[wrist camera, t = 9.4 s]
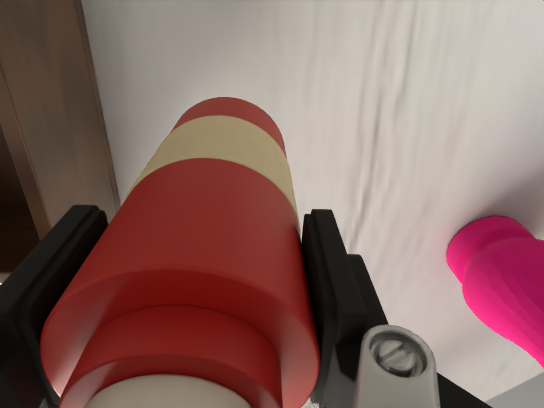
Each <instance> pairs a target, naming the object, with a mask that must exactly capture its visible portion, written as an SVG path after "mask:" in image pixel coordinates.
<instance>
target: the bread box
mask: <svg viewBox="0 0 544 408" xmlns="http://www.w3.org/2000/svg"><path fill="white" fill-rule="evenodd" d="M73 205H97V206H98V207H99V209H100V210H104V211H105V213H106V215H107V220H108V225H109V224H110V222H111V221H112V219H113V218H114V216H115V215H116V213H117V212H118V210H119V209H120V207H121V206H120V201H119V196H118V191H117V185H116V180H115V175H114V170H113V165H112V160H111V154H110V149H109V144H108V139H107V134H106V129H105V123H104V118H103V113H102V108H101V103H100V97H99V92H98V87H97V82H96V77H95V72H94V66H93V61H92V56H91V51H90V46H89V41H88V35H87V30H86V25H85V20H84V15H83V10H82V4H81V0H0V284H2V283H3V282H4V281H5V280H6V279H7V278H8V277H9V275H10V274H11V273H12V272H13V271H14V270H15V269H16V268H17V267H18V265H19V264H20V263H21V262H22V261H23V260H24V259H25V258H26V257H27V255H28V254H29V253H30V252H31V251H32V250H33V249H34V248H35V247H36V246H37V244H38V243H39V242H40V241H41V240H42V239H43V238H44V237H45V236H46V234H47V233H48V232H49V231H50V230H51V229H52V228H53V227H54V226H55V224H56V223H57V222H58V221H59V220H60V219H61V218H62V217H63V216H64V214H65V213H66V212H67V211H68V210H69V209H70V208H71V207H72V206H73Z"/></svg>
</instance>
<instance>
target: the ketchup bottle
mask: <svg viewBox="0 0 544 408" xmlns="http://www.w3.org/2000/svg"><path fill="white" fill-rule="evenodd" d="M39 350H40V359H41V364H42V367H43V370H44V373H45V375H46V377H47V379H48V381H49V383H50V385H51V386H52V387H53V389H54V390H55V391H56V393H57V394H58V395H59V396H60V397H61V398H60V402H59V408H301V407H302V406H303V405H304V404H305V402H306V401H307V400H308V398H309V397H310V395H311V394H312V392H313V390H314V388H315V386H316V383H317V380H318V376H319V372H320V363H321V357H320V349H319V343H318V337H317V331H316V326H315V320H314V314H313V308H312V302H311V297H310V291H309V285H308V279H307V274H306V268H305V262H304V256H303V250H302V245H301V239H300V224H299V218H298V212H297V207H296V201H295V196H294V190H293V184H292V179H291V173H290V168H289V165H288V161H287V158H286V152H285V146H284V141H283V138H282V135H281V133H280V130H279V128H278V127H277V125H276V124H275V122H274V121H273V120H272V118H271V117H270V116H269V115H268V114H267V113H266V112H265V111H263V110H262V109H260V108H259V107H258V106H256V105H254V104H252V103H250V102H247V101H245V100H242V99H237V98H231V97H218V98H212V99H208V100H205V101H202V102H200V103H198V104H196V105H194V106H193V107H191V108H190V109H188V110H187V111H186V112H185V113H184V114H183V115H182V116H181V118H180V119H179V120H178V122H177V123H176V125H175V126H174V128H173V129H172V131H171V132H170V134H169V135H168V136H167V137H166V138H165V139H164V140H163V142H162V143H161V145H160V146H159V148H158V149H157V150H156V152H155V153H154V155H153V156H152V158H151V159H150V161H149V162H148V164H147V165H146V167H145V168H144V170H143V171H142V173H141V174H140V176H139V177H138V179H137V180H136V181H135V183H134V184H133V186H132V187H131V189H130V191H129V192H128V194H127V195H126V197H125V199H124V202H123V204H122V206H121V207H120V209H119V210H118V212H117V213H116V215H115V216H114V218H113V219H112V221H111V222H110V224H109V225H108V227H107V228H106V230H105V231H104V233H103V234H102V236H101V237H100V239H99V240H98V242H97V243H96V245H95V246H94V248H93V249H92V251H91V252H90V254H89V255H88V257H87V258H86V260H85V261H84V263H83V264H82V266H81V267H80V269H79V270H78V272H77V273H76V275H75V276H74V278H73V279H72V281H71V282H70V284H69V285H68V287H67V288H66V290H65V291H64V293H63V294H62V296H61V297H60V299H59V300H58V302H57V303H56V305H55V306H54V308H53V309H52V311H51V313H50V314H49V316H48V318H47V320H46V321H45V324H44V327H43V330H42V333H41V339H40V349H39Z"/></svg>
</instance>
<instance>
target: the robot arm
mask: <svg viewBox="0 0 544 408" xmlns="http://www.w3.org/2000/svg"><path fill="white" fill-rule="evenodd" d="M107 227H108V220H107V215H106V213H105V211H104V210H100V209H99V207H98V206H97V205H73V206H72V207H71V208H70V209H69V210H68V211H67V212H66V213H65V214H64V216H63V217H62V218H61V219H60V220H59V221H58V222H57V223H56V224H55V226H54V227H53V228H52V229H51V230H50V231H49V232H48V233H47V234H46V236H45V237H44V238H43V239H42V240H41V241H40V242H39V243H38V244H37V246H36V247H35V248H34V249H33V250H32V251H31V252H30V253H29V254H28V255H27V257H26V258H25V259H24V260H23V261H22V262H21V263H20V264H19V265H18V267H17V268H16V269H15V270H14V271H13V272H12V273H11V274H10V275H9V277H8V278H7V279H6V280H5V281H4V282H3V283H2V284H1V285H0V408H59V402H60V398H61V397H60V396H59V395H58V394H57V393H56V391H55V390H54V389H53V387H52V386H51V385H50V383H49V381H48V379H47V377H46V375H45V373H44V370H43V367H42V364H41V359H40V350H39V349H40V339H41V333H42V330H43V327H44V324H45V321H46V320H47V318H48V316H49V314H50V313H51V311H52V309H53V308H54V306H55V305H56V303H57V302H58V300H59V299H60V297H61V296H62V294H63V293H64V291H65V290H66V288H67V287H68V285H69V284H70V282H71V281H72V279H73V278H74V276H75V275H76V273H77V272H78V270H79V269H80V267H81V266H82V264H83V263H84V261H85V260H86V258H87V257H88V255H89V254H90V252H91V251H92V249H93V248H94V246H95V245H96V243H97V242H98V240H99V239H100V237H101V236H102V234H103V233H104V231H105V230H106V228H107ZM301 245H302V250H303V256H304V262H305V268H306V274H307V279H308V285H309V291H310V297H311V302H312V308H313V314H314V320H315V326H316V331H317V337H318V343H319V349H320V357H321V363H320V372H319V376H318V380H317V383H316V386H315V388H314V390H313V392H312V394H311V395H310V399H311V402H312V403H319V408H492V407H491V406H489V405H487V404H486V403H484V402H483V401H481V400H480V399H478V398H476V397H475V396H473V395H472V394H470V393H469V392H467V391H465V390H464V389H462V388H461V387H459V386H458V385H456V384H455V383H453V382H451V381H450V380H448V379H447V378H445V377H444V376H442V375H440V374H439V373H437V371H436V362H435V359H434V355H433V352H432V351H431V349H430V348H429V346H428V345H427V344H426V343H425V342H424V341H423V340H422V339H421V338H420V337H419V336H418V335H416V334H414V333H413V332H411V331H410V330H408V329H405V328H402V327H399V326H394V325H389V324H388V321H387V319H386V316H385V314H384V311H383V309H382V306H381V304H380V301H379V299H378V296H377V294H376V291H375V289H374V286H373V284H372V281H371V279H370V276H369V274H368V271H367V269H366V266H365V264H364V261H363V259H362V257H361V256H360V255H359V254H347V252H346V249H345V247H344V244H343V241H342V238H341V235H340V232H339V229H338V226H337V223H336V220H335V217H334V215H333V212H332V210H327V209H312V211H311V214H305V215H304V222H303V232H302V242H301Z"/></svg>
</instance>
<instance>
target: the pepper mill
mask: <svg viewBox="0 0 544 408" xmlns="http://www.w3.org/2000/svg"><path fill="white" fill-rule="evenodd" d="M447 263H448V265H449V267H450V269H451V270H452V272H453V273H454V274H455V276H456V277H457V279H458V280H459V281H460V282H461V283H462V291H463V296H464V299H465V301H466V303H467V305H468V306H469V308H470V309H471V310H472V311H473V313H474V314H475V315H476V316H477V317H478V318H479V319H480V320H481V321H482V322H483V323H484V324H486V325H487V326H488V327H489V328H491V329H492V330H493V331H495V332H496V333H498V334H500V335H501V336H503V337H504V338H506V339H508V340H510V341H512V342H514V343H515V344H517V345H518V346H520V347H521V348H523V349H524V350H525V351H527V352H528V353H529V354H530V355H531V356H532V357H533V358H535V359H536V360H537V361H538V362H539V364H540V365H541V366H542V367H543V368H544V241H543V240H539V239H535V238H534V236H533V235H532V234H531V233H530V232H529V231H528V230H526V229H525V228H524V227H523V226H522V225H521V224H520V223H518V222H517V221H515V220H514V219H511V218H508V217H503V216H491V217H487V218H482V219H479V220H477V221H475V222H472V223H470V224H468V225H467V226H466V227H464V228H463V229H461V230H460V231H459V232H458V233H457V234H456V235H455V236H454V238H453V239H452V241H451V243H450V244H449V247H448V250H447Z"/></svg>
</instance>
